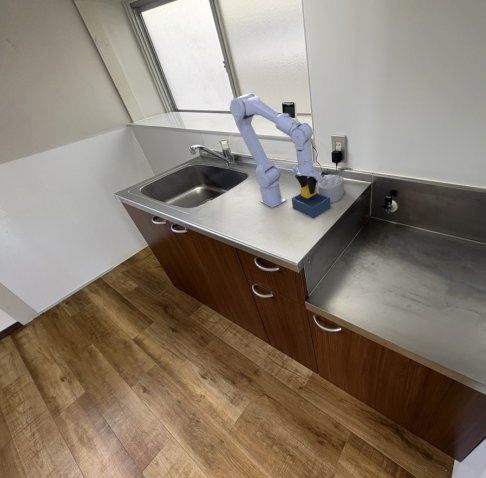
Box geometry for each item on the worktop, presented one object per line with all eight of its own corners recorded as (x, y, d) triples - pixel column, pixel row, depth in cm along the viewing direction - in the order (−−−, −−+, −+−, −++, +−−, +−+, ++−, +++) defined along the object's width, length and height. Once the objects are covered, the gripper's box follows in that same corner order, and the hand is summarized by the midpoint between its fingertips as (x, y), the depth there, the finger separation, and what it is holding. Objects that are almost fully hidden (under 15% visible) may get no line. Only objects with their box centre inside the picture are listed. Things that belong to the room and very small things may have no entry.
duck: (301, 195, 103) (299, 183, 100) (311, 190, 106) (310, 178, 102) (307, 198, 100) (306, 186, 97) (318, 192, 103) (316, 180, 100)
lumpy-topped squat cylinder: (346, 190, 116) (345, 173, 111) (335, 204, 107) (335, 186, 102) (325, 188, 121) (324, 171, 115) (314, 201, 112) (312, 183, 107)
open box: (292, 208, 109) (291, 198, 106) (309, 198, 114) (308, 189, 111) (313, 218, 101) (312, 208, 98) (330, 208, 106) (330, 197, 103)
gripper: (284, 159, 96) (290, 190, 105) (310, 167, 87) (313, 200, 96) (298, 153, 100) (302, 184, 108) (324, 160, 90) (326, 193, 99)
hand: (308, 191), depth 102 cm, fingers closed on duck, 4 cm apart
